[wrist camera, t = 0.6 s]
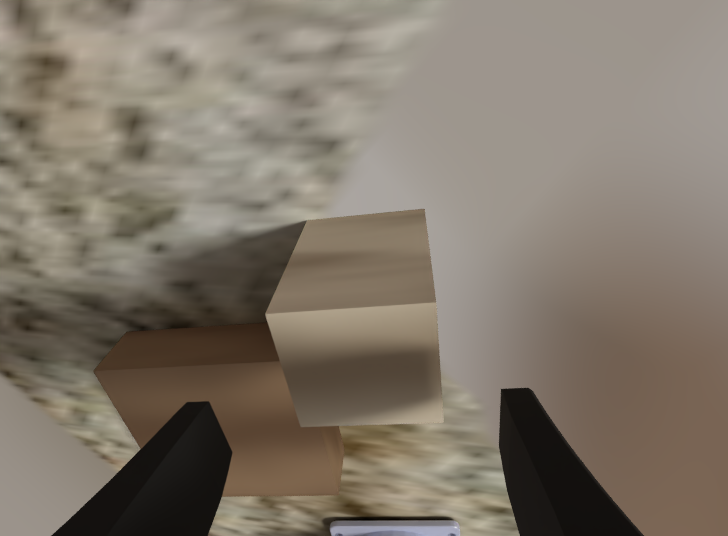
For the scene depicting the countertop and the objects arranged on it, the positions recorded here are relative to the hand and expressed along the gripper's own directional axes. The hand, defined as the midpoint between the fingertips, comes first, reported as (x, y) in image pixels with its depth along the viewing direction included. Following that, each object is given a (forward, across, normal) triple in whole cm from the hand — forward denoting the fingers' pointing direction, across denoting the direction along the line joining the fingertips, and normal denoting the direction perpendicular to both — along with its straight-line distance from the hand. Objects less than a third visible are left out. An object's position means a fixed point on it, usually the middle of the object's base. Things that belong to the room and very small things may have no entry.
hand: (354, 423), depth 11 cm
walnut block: (+8, +8, +7) cm, 13 cm away
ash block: (+8, 0, 0) cm, 8 cm away
